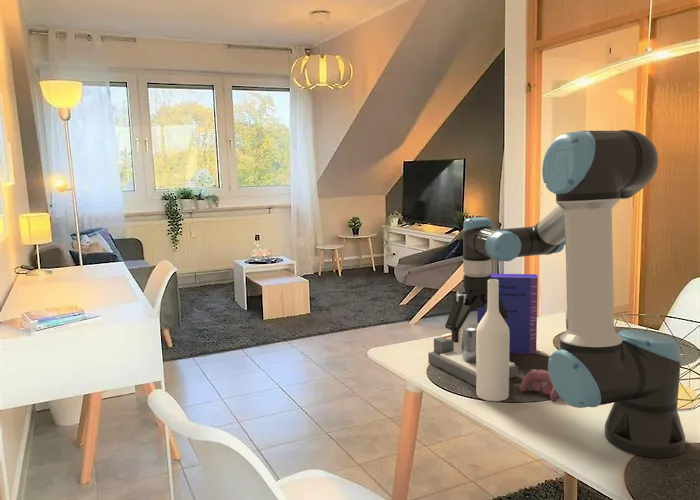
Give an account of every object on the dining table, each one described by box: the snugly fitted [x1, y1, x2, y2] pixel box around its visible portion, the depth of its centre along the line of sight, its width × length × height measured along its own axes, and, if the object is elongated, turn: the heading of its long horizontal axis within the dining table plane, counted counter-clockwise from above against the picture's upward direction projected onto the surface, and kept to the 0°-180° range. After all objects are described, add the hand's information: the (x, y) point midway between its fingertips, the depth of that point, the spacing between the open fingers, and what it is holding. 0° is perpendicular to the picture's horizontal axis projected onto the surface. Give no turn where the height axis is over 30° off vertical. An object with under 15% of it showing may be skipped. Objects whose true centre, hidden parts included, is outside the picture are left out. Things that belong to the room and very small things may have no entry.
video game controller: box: [519, 369, 560, 402], centre depth 147 cm, size 10×5×7 cm, turn 43°
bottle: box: [475, 279, 510, 402], centre depth 145 cm, size 8×8×30 cm
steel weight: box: [462, 323, 478, 364], centre depth 161 cm, size 8×8×9 cm
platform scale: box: [428, 332, 518, 387], centre depth 165 cm, size 23×14×8 cm, turn 28°
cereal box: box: [476, 273, 539, 355], centre depth 177 cm, size 17×5×24 cm, turn 76°
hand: (477, 348), depth 161 cm, fingers open, 13 cm apart
